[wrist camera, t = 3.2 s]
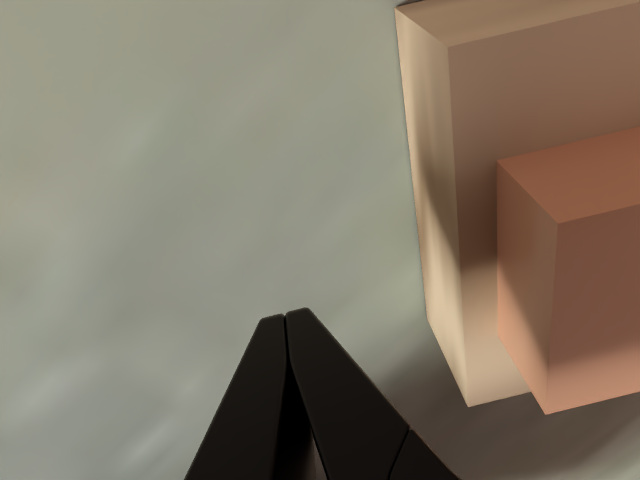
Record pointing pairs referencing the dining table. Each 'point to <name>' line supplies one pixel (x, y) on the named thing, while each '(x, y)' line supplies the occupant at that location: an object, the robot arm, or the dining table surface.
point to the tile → (571, 268)
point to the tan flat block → (499, 141)
